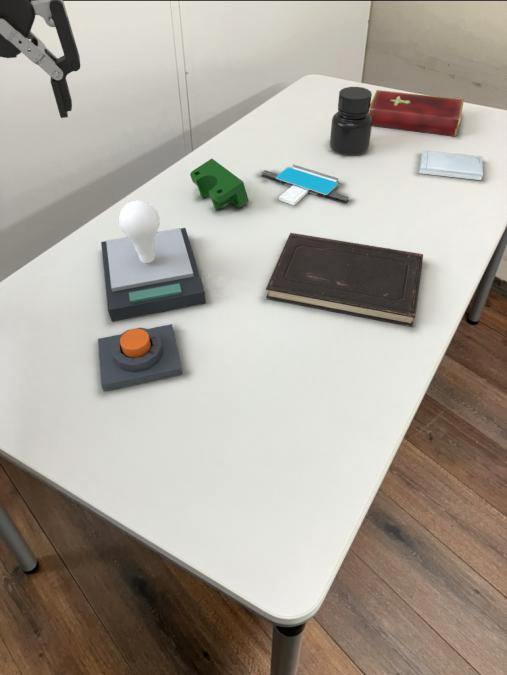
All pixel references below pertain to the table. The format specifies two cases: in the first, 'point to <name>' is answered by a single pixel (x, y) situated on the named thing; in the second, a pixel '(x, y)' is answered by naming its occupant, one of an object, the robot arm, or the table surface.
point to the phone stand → (305, 184)
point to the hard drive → (451, 165)
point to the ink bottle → (352, 122)
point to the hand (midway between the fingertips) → (21, 120)
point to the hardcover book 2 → (416, 112)
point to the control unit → (139, 360)
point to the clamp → (219, 184)
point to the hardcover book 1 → (347, 278)
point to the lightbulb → (140, 227)
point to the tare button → (135, 343)
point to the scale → (151, 276)
